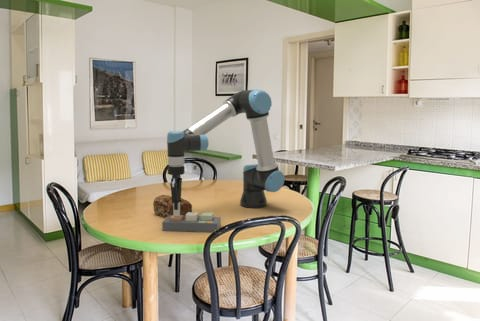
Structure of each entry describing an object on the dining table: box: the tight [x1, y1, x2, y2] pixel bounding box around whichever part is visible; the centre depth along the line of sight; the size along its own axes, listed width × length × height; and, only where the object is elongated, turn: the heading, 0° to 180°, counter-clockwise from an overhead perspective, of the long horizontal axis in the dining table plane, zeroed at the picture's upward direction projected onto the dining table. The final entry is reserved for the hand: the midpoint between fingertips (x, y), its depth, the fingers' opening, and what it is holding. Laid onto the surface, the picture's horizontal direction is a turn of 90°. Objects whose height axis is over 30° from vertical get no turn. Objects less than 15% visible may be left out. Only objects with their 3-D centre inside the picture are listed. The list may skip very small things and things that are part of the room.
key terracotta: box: [170, 215, 184, 221], centre depth 186 cm, size 5×5×4 cm
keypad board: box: [161, 215, 222, 233], centre depth 186 cm, size 25×11×4 cm, turn 85°
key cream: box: [185, 211, 199, 221], centre depth 185 cm, size 5×5×4 cm
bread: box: [152, 194, 193, 219], centre depth 205 cm, size 19×11×10 cm, turn 51°
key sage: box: [200, 212, 214, 222], centre depth 185 cm, size 5×5×4 cm
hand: (176, 216), depth 186 cm, fingers closed
